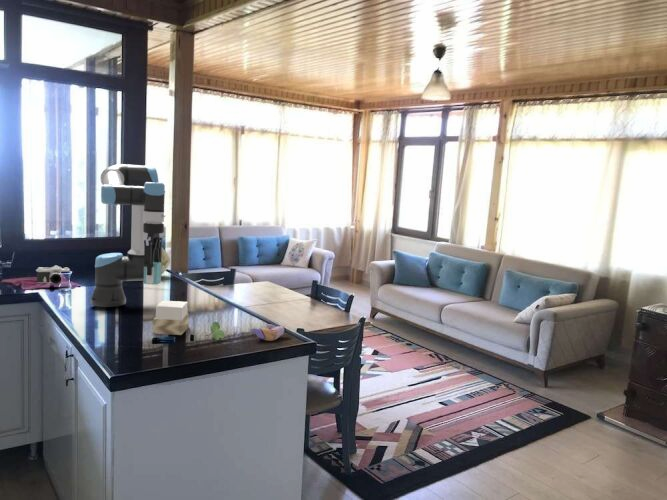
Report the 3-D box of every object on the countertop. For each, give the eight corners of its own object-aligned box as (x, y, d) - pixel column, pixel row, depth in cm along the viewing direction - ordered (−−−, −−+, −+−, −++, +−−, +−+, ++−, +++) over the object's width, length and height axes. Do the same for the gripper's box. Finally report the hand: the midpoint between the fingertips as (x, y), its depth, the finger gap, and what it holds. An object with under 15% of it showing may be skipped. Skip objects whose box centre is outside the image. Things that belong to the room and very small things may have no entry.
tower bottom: (152, 334, 208) (153, 318, 208) (161, 326, 219) (161, 312, 219) (181, 335, 209) (181, 320, 208) (188, 328, 219) (189, 313, 219)
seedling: (212, 348, 209) (225, 342, 206) (197, 341, 203) (209, 334, 201) (213, 333, 213) (225, 326, 211) (198, 324, 208) (211, 318, 206)
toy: (247, 323, 209) (279, 321, 219) (246, 339, 209) (279, 336, 219) (258, 327, 202) (292, 324, 211) (258, 343, 202) (292, 340, 211)
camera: (35, 285, 277) (35, 266, 276) (36, 282, 285) (36, 263, 284) (69, 284, 285) (69, 266, 283) (69, 281, 292) (69, 263, 291)
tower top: (155, 318, 208) (155, 306, 207) (162, 312, 218) (162, 300, 217) (181, 320, 208) (182, 307, 208) (187, 313, 218) (187, 301, 218)
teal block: (143, 283, 207) (144, 263, 207) (148, 281, 212) (148, 261, 212) (156, 284, 207) (156, 263, 206) (160, 282, 212) (161, 262, 211)
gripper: (155, 224, 198) (153, 286, 201) (171, 221, 216) (169, 278, 219) (135, 223, 198) (133, 285, 201) (152, 220, 216) (151, 277, 219)
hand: (152, 282), depth 210 cm, fingers closed on teal block, 5 cm apart
